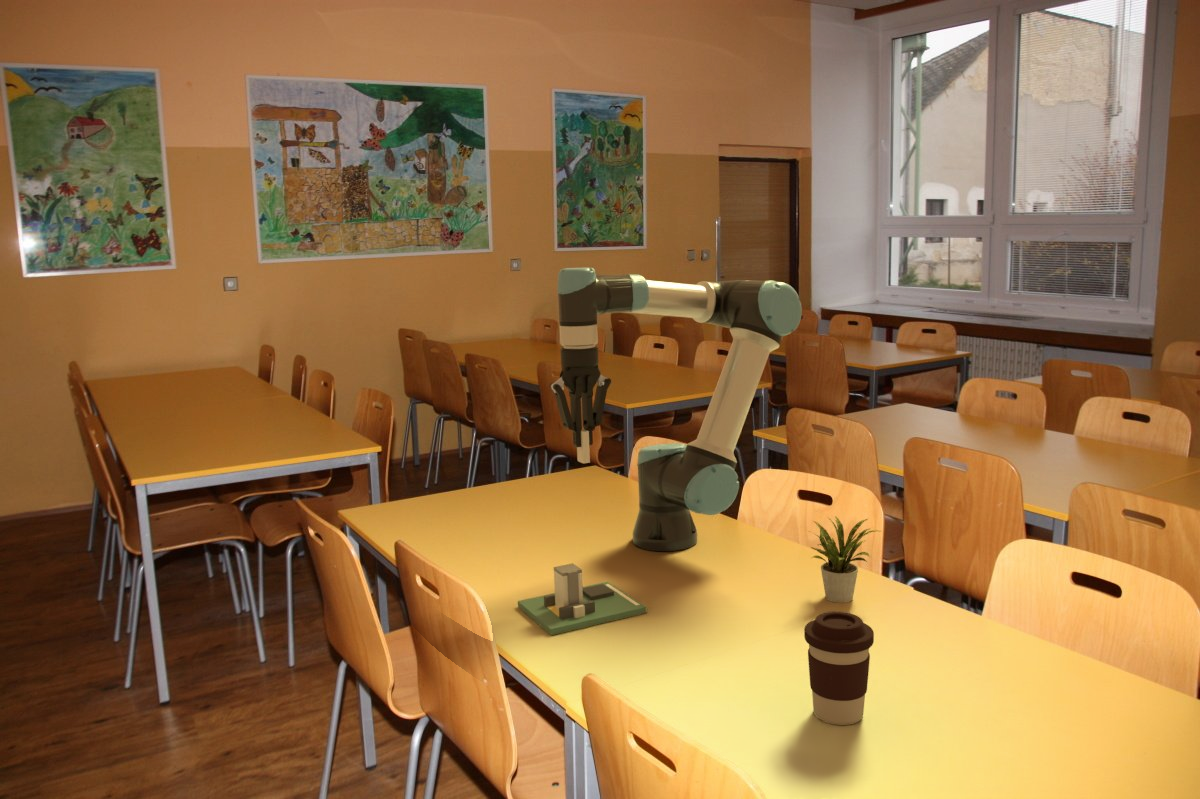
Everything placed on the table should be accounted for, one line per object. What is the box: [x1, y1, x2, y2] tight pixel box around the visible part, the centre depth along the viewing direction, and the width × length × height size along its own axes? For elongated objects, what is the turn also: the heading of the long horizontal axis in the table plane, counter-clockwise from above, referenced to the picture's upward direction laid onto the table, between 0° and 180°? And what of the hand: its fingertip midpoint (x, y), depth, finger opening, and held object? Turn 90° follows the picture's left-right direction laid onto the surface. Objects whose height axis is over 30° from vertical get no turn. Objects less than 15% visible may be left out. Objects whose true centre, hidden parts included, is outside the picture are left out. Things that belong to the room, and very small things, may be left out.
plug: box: [553, 562, 583, 609], centre depth 186 cm, size 4×4×8 cm
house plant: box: [807, 515, 881, 604], centre depth 189 cm, size 14×14×16 cm
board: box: [517, 581, 647, 636], centre depth 189 cm, size 20×16×3 cm
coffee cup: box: [803, 610, 875, 726], centre depth 144 cm, size 10×10×15 cm
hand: (583, 461), depth 197 cm, fingers closed
